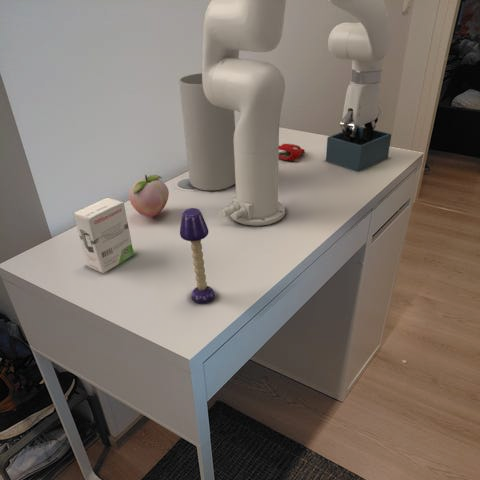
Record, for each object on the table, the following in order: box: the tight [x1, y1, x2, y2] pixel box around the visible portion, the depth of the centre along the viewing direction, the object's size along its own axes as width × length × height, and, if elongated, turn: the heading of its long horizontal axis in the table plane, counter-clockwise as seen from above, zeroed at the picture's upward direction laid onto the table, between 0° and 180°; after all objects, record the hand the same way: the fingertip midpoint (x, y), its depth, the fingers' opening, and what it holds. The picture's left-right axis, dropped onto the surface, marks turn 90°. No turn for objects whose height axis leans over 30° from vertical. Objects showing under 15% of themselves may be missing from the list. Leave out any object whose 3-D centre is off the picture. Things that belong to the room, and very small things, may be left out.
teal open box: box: [325, 126, 392, 172], centre depth 134 cm, size 13×11×7 cm
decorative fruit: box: [128, 174, 170, 218], centre depth 110 cm, size 9×8×10 cm
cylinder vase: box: [178, 72, 236, 192], centre depth 120 cm, size 12×12×25 cm
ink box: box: [72, 197, 135, 274], centre depth 94 cm, size 9×5×12 cm, turn 143°
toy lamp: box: [179, 207, 216, 305], centre depth 81 cm, size 5×5×17 cm
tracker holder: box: [279, 143, 305, 162], centre depth 139 cm, size 12×4×10 cm
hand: (357, 146), depth 134 cm, fingers closed on creature, 7 cm apart
